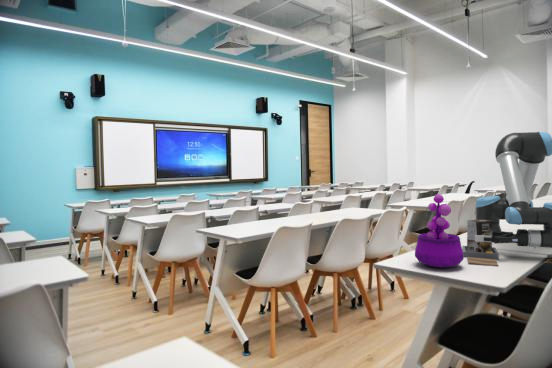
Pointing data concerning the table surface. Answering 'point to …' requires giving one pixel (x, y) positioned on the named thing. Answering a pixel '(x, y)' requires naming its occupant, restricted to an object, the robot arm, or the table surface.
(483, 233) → the coffee box
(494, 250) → the grey square tray
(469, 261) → the walnut pad
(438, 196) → the decorative plant
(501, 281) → the table surface
